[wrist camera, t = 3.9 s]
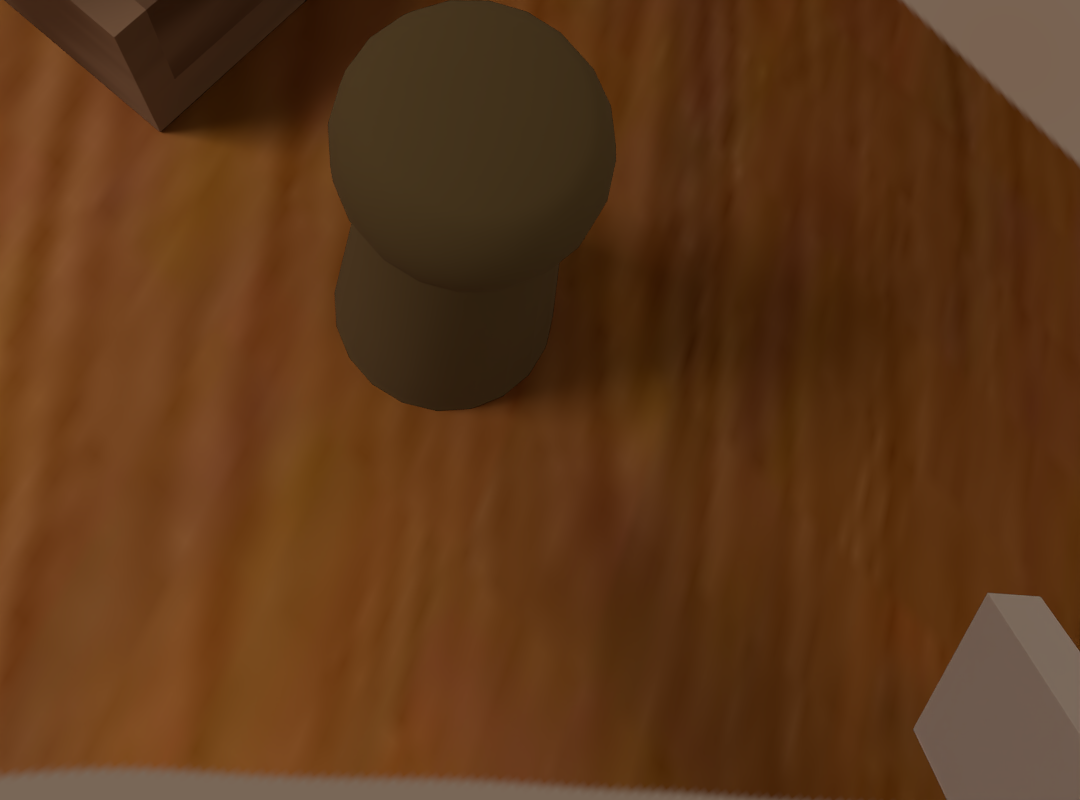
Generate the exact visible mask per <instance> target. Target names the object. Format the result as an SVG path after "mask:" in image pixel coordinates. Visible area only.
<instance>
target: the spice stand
mask: <svg viewBox="0 0 1080 800" xmlns="http://www.w3.org/2000/svg"><path fill="white" fill-rule="evenodd" d="M5 1H6V2H7V3H8V4H9V5H11V6H12V7H13V8H14V9H15V10H17V11H18V12H19V13H20V14H21V15H22V16H24V17H25V18H26V19H27V20H28V21H30V22H31V23H32V24H33V25H34V26H35V27H37V28H38V29H39V30H40V31H41V32H43V33H44V34H45V35H46V36H47V37H48V38H50V39H51V40H52V41H53V42H54V43H56V44H57V45H58V46H59V47H60V48H61V49H63V50H64V51H65V52H66V53H67V54H69V55H70V56H71V57H72V58H73V59H74V60H76V61H77V62H78V63H79V64H80V65H82V66H83V67H84V68H85V69H86V70H87V71H89V72H90V73H91V74H92V75H93V76H95V77H96V78H97V79H98V80H99V81H100V82H102V83H103V84H104V85H105V86H106V87H108V88H109V89H110V90H111V91H112V92H113V93H115V94H116V95H117V96H118V97H119V98H121V99H122V100H123V101H124V102H125V103H126V104H128V105H129V106H130V107H131V108H132V109H134V110H135V111H136V112H137V113H138V114H139V115H141V116H142V117H143V118H144V119H145V120H147V121H148V122H149V123H150V124H151V125H152V126H154V127H155V128H156V129H157V130H158V131H160V132H161V131H162V130H163V129H164V128H165V127H167V126H168V125H169V124H170V123H171V122H172V121H173V120H174V119H175V118H176V117H178V116H179V115H180V114H181V113H182V112H183V111H184V110H185V109H186V108H188V107H189V106H190V105H191V104H192V103H193V102H194V101H195V100H196V99H197V98H199V97H200V96H201V95H202V94H203V93H204V92H205V91H206V90H207V89H209V88H210V87H211V86H212V85H213V84H214V83H215V82H216V81H217V80H218V79H220V78H221V77H222V76H223V75H224V74H225V73H226V72H227V71H228V70H229V69H231V68H232V67H233V66H234V65H235V64H236V63H237V62H238V61H239V60H241V59H242V58H243V57H244V56H245V55H246V54H247V53H248V52H249V51H250V50H252V49H253V48H254V47H255V46H256V45H257V44H258V43H259V42H260V41H262V40H263V39H264V38H265V37H266V36H267V35H268V34H269V33H270V32H271V31H273V30H274V29H275V28H276V27H277V26H278V25H279V24H280V23H281V22H282V21H284V20H285V19H286V18H287V17H288V16H289V15H290V14H291V13H292V12H294V11H295V10H296V9H297V8H298V7H299V6H300V5H301V4H302V3H303V2H305V1H306V0H5Z"/></svg>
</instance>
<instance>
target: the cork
mask: <svg viewBox="0 0 1080 800" xmlns="http://www.w3.org/2000/svg"><path fill="white" fill-rule="evenodd" d="M328 133H329V150H330V167H331V173H332V178H333V183H334V185H335V187H336V190H337V192H338V195H339V197H340V199H341V202H342V204H343V206H344V209H345V211H346V214H347V216H348V218H349V221H350V222H351V223H352V224H351V228H350V232H349V236H348V240H347V244H346V248H345V253H344V257H343V261H342V265H341V269H340V273H339V277H338V281H337V285H336V290H335V307H336V324H337V328H338V331H339V333H340V336H341V338H342V341H343V343H344V346H345V348H346V350H347V353H348V355H349V358H350V359H351V360H352V361H353V362H354V364H355V365H356V366H357V367H358V368H359V369H360V371H361V372H362V373H363V374H364V375H365V376H366V377H367V379H368V380H369V381H370V382H371V383H372V384H373V385H374V386H376V387H378V388H379V389H381V390H383V391H384V392H386V393H388V394H389V395H391V396H393V397H394V398H396V399H397V400H399V401H401V402H403V403H407V404H411V405H415V406H419V407H423V408H427V409H431V410H435V411H441V410H457V409H471V408H474V407H477V406H479V405H482V404H484V403H487V402H489V401H492V400H494V399H497V398H499V397H502V396H504V395H505V394H506V393H507V392H509V391H510V390H511V389H512V388H513V387H514V386H516V385H517V384H518V383H519V382H520V381H522V380H523V379H524V378H525V377H526V376H528V375H529V373H530V372H531V370H532V368H533V367H534V365H535V364H536V362H537V360H538V359H539V357H540V355H541V354H542V352H543V351H544V349H545V347H546V344H547V339H548V335H549V330H550V326H551V321H552V317H553V310H554V302H555V294H556V286H557V278H558V270H559V262H561V261H562V260H563V259H564V258H566V257H567V256H568V255H569V254H571V253H572V252H573V251H574V250H576V249H577V248H578V247H579V246H580V244H581V243H582V241H583V239H584V238H585V236H586V235H587V233H588V231H589V230H590V228H591V227H592V225H593V223H594V222H595V220H596V219H597V217H598V215H599V214H600V212H601V210H602V209H603V207H604V205H605V203H606V202H607V199H608V195H609V190H610V185H611V181H612V176H613V172H614V167H615V162H616V144H615V136H614V128H613V119H612V111H611V105H610V103H609V101H608V99H607V97H606V95H605V92H604V90H603V88H602V86H601V84H600V82H599V80H598V78H597V75H596V73H595V71H594V69H593V68H592V67H591V66H590V65H589V63H588V62H587V61H586V60H585V59H584V58H583V57H582V56H581V55H580V54H579V52H578V51H577V50H576V49H575V48H574V47H573V46H572V45H571V44H570V42H569V41H568V40H567V39H566V38H565V37H564V36H563V35H562V34H561V33H560V32H559V31H557V30H556V29H554V28H552V27H551V26H549V25H547V24H546V23H544V22H543V21H541V20H539V19H538V18H536V17H535V16H533V15H531V14H530V13H528V12H526V11H523V10H519V9H516V8H512V7H509V6H506V5H502V4H499V3H495V2H492V1H461V0H450V1H446V2H443V3H439V4H436V5H432V6H429V7H426V8H422V9H419V10H415V11H412V12H410V13H407V14H405V15H403V16H401V17H400V18H398V19H397V20H395V21H394V22H392V23H391V24H390V25H388V26H387V27H385V28H384V29H382V30H381V31H379V32H378V33H376V34H375V35H373V36H372V37H370V38H369V40H368V41H367V42H366V44H365V45H364V46H363V48H362V49H361V50H360V52H359V53H358V54H357V56H356V57H355V58H354V60H353V61H352V62H351V64H350V65H349V66H348V68H347V69H346V70H345V73H344V75H343V78H342V80H341V83H340V86H339V89H338V92H337V96H336V99H335V102H334V106H333V109H332V112H331V116H330V119H329V122H328Z"/></svg>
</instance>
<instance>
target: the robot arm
mask: <svg viewBox="0 0 1080 800" xmlns="http://www.w3.org/2000/svg"><path fill="white" fill-rule="evenodd" d="M913 730H914V732H915V734H916V736H917V738H918V740H919V742H920V744H921V747H922V749H923V751H924V753H925V755H926V757H927V759H928V761H929V763H930V765H931V768H932V770H933V772H934V774H935V776H936V778H937V780H938V782H939V784H940V787H941V789H942V791H943V793H944V795H945V797H946V799H947V800H1080V651H1079V650H1078V649H1077V647H1076V646H1075V644H1074V643H1073V642H1072V640H1071V639H1070V637H1069V636H1068V635H1067V633H1066V632H1065V630H1064V629H1063V627H1062V626H1061V625H1060V623H1059V622H1058V620H1057V619H1056V618H1055V616H1054V615H1053V613H1052V612H1051V611H1050V609H1049V608H1048V606H1047V605H1046V604H1045V602H1044V601H1043V599H1042V598H1041V597H1039V596H1024V595H1010V594H996V593H987V595H986V597H985V599H984V600H983V602H982V604H981V606H980V608H979V610H978V611H977V613H976V615H975V617H974V619H973V621H972V622H971V624H970V626H969V628H968V630H967V632H966V633H965V635H964V637H963V639H962V641H961V643H960V644H959V646H958V648H957V650H956V652H955V654H954V655H953V657H952V659H951V661H950V663H949V664H948V666H947V668H946V670H945V672H944V674H943V675H942V677H941V679H940V681H939V683H938V685H937V686H936V688H935V690H934V692H933V694H932V696H931V697H930V699H929V701H928V703H927V705H926V707H925V708H924V710H923V712H922V714H921V716H920V718H919V719H918V721H917V723H916V725H915V727H914V729H913Z"/></svg>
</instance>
